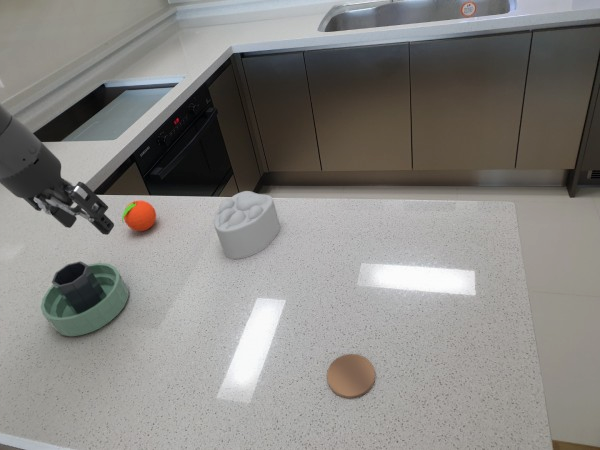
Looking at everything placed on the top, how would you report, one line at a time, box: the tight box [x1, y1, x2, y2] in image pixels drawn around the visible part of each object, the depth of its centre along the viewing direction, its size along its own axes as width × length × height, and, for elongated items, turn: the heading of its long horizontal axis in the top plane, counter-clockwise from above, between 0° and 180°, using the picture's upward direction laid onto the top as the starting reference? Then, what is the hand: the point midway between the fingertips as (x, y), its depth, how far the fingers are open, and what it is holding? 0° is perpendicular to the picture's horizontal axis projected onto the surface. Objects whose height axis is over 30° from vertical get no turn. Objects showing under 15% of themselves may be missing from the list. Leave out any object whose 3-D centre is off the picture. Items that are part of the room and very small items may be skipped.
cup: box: [51, 260, 107, 315], centre depth 84 cm, size 6×6×8 cm
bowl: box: [40, 262, 129, 337], centre depth 86 cm, size 14×14×5 cm
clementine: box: [121, 200, 157, 232], centre depth 103 cm, size 8×7×7 cm
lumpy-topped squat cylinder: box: [213, 190, 281, 260], centre depth 93 cm, size 10×13×9 cm
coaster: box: [326, 353, 376, 399], centre depth 65 cm, size 7×7×1 cm
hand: (90, 226), depth 74 cm, fingers open, 8 cm apart
